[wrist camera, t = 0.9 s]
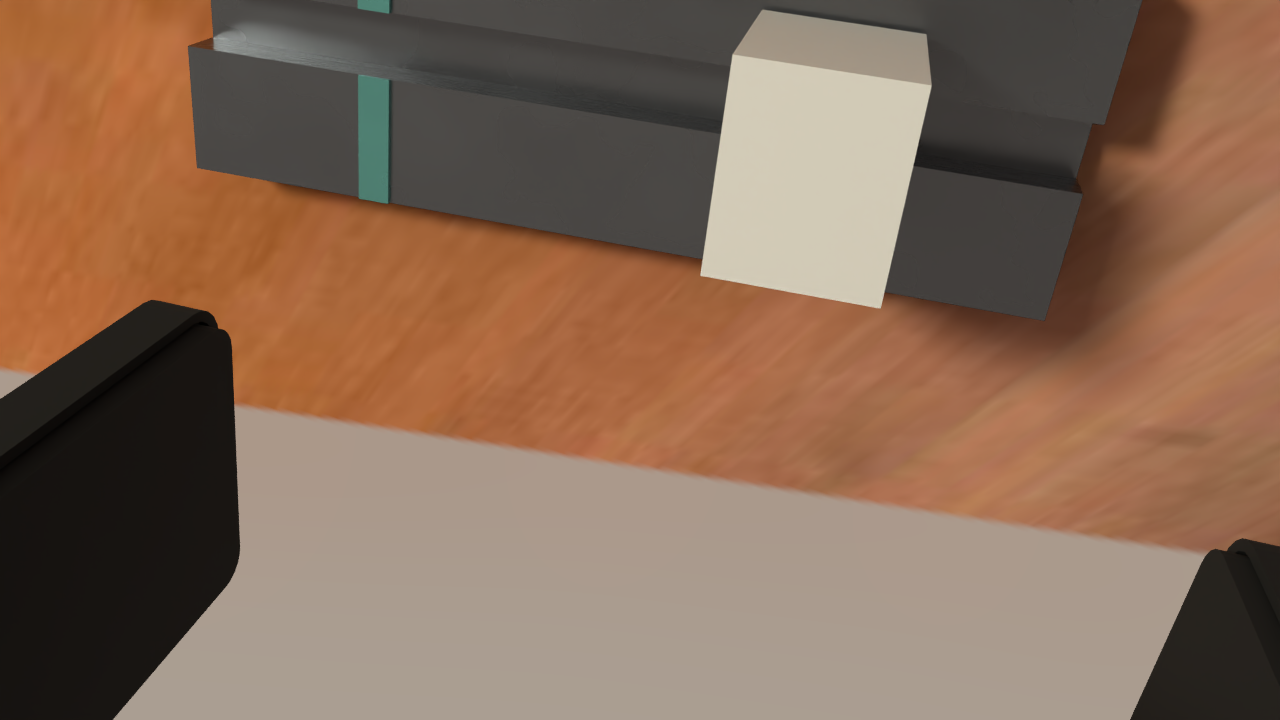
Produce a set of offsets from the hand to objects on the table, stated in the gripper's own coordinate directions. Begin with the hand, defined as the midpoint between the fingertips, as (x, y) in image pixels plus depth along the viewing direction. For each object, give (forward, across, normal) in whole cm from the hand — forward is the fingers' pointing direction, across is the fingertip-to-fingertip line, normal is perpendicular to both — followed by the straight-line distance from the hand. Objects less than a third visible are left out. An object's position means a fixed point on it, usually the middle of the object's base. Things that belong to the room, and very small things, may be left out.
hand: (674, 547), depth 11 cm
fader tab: (+18, 0, 0) cm, 18 cm away
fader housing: (+19, +4, 0) cm, 20 cm away
